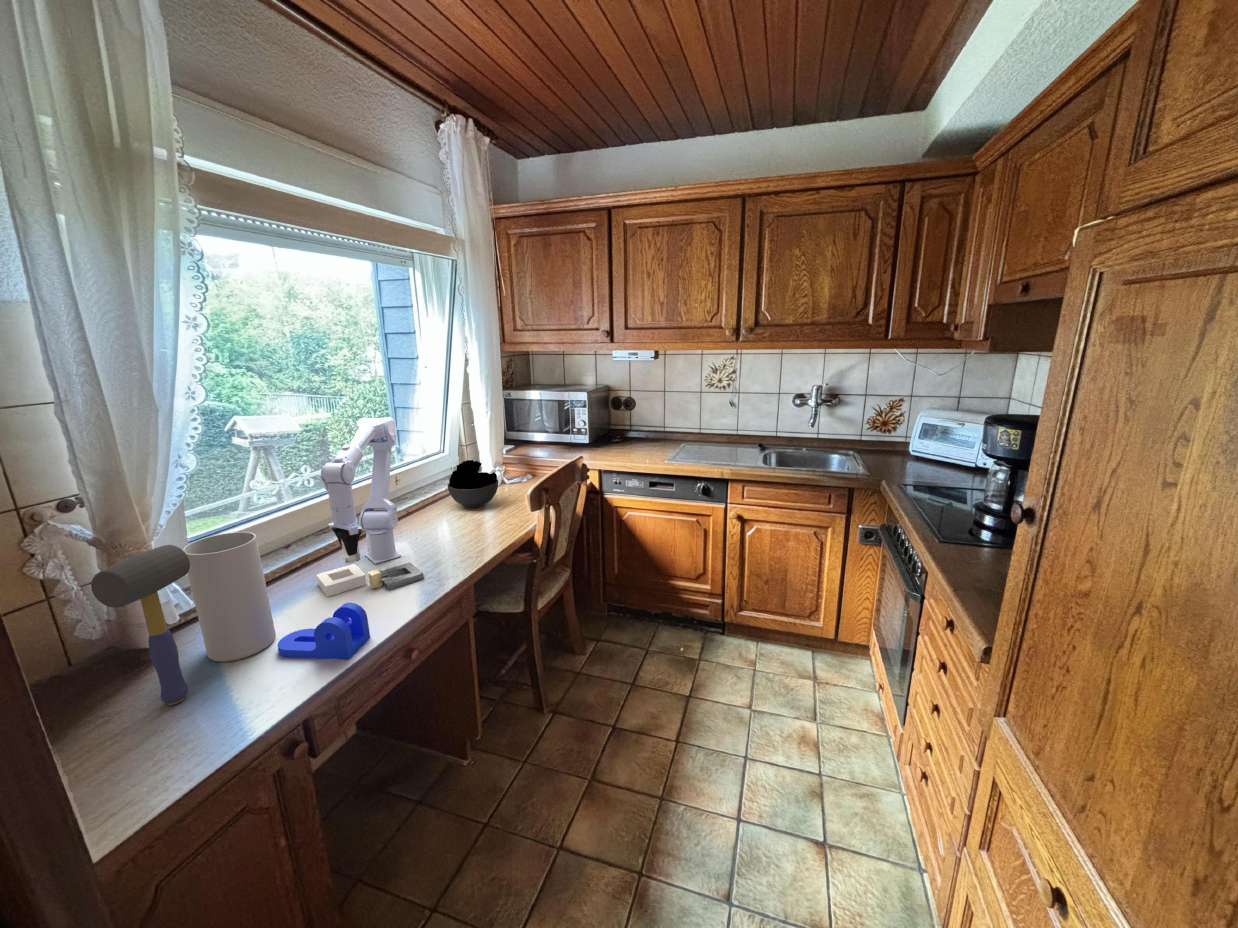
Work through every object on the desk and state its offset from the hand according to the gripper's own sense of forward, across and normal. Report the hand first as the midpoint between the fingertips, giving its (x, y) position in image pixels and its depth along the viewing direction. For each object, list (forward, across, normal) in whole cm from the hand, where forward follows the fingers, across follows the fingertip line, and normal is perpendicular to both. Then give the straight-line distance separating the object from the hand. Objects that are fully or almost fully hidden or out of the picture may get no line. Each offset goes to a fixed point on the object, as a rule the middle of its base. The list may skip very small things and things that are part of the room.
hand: (349, 552), depth 141 cm
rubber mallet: (+10, +28, -40) cm, 50 cm away
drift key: (+9, +6, +5) cm, 12 cm away
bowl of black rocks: (+10, -38, +58) cm, 70 cm away
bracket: (+10, +28, -15) cm, 33 cm away
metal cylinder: (+2, 0, 0) cm, 3 cm away
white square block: (+9, -2, -3) cm, 10 cm away
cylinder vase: (+10, +15, -28) cm, 33 cm away
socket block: (+9, +6, +10) cm, 15 cm away
